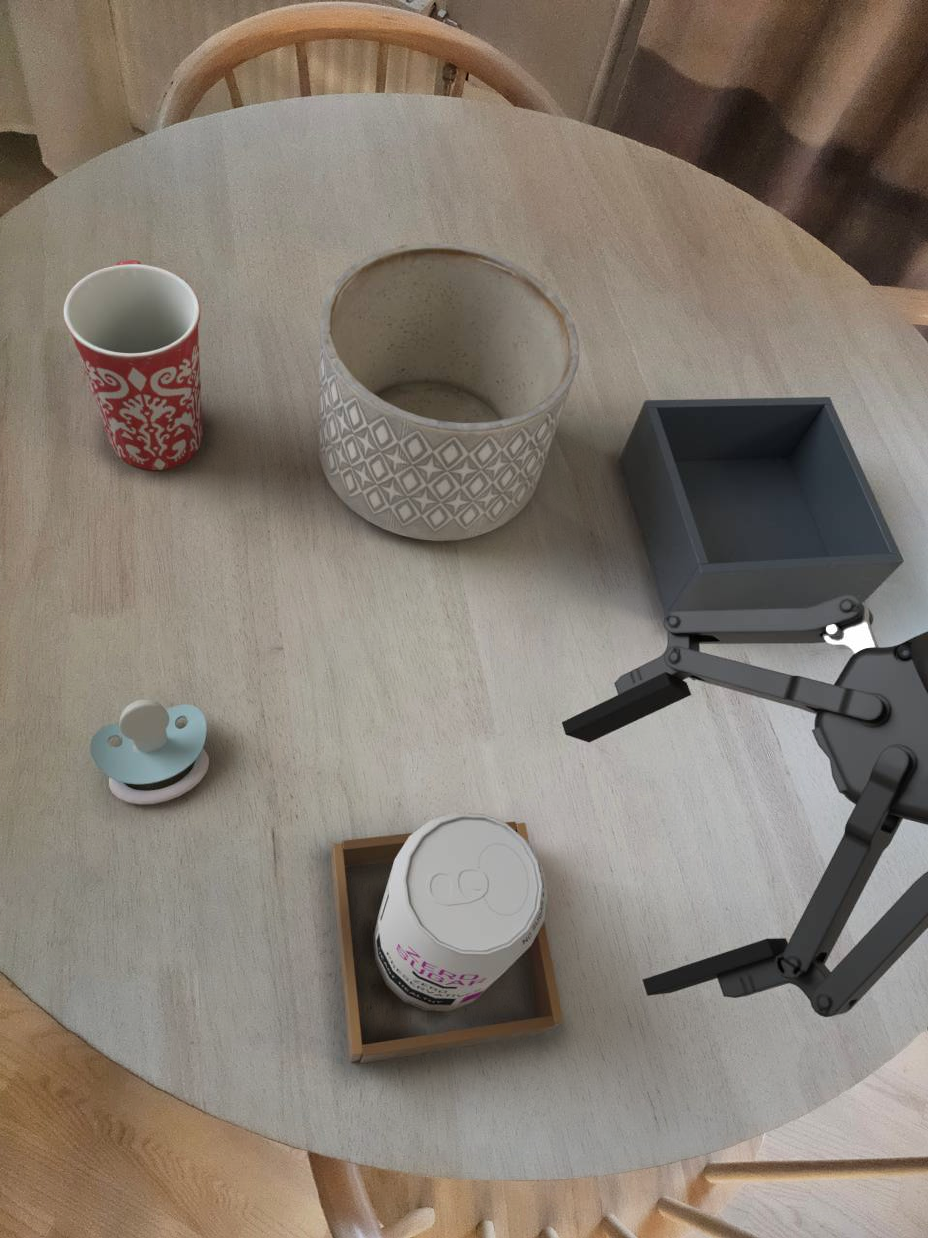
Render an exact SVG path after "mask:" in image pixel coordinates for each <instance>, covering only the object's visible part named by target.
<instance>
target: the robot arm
mask: <svg viewBox="0 0 928 1238" xmlns="http://www.w3.org/2000/svg"><path fill="white" fill-rule="evenodd" d="M873 622H874V615H873V613H872V611H871V610H870V609H869V608H868V607H867V606H866V605H865V604H864V603H862V602H861V600H860V599H859V598H858V597H856V596H855V595H852V594H845V595H841V596H839V597H836V598H833V599H830V600H828V601H825V602H822V603H819V604H817V605H814V606H811V607H801V608H762V609H723V610H684V611H672V612H670V613H668V614H667V615H666V617H665V616H664V619H663V627H664V630H665V631H666V632H667V634H666V635H667V636H666V637H667V638H666V639H667V643H666V648H665V650H664V652H663V653H662V654H661V655H660V656H658V657H656V658H654V659H652V660H650V661H648V662H645V663H643V664H642V665H640V666H638V667H637V668H634V669H632V670H630V671H628V672H626V673H624V674H621V675H620V676H619V677H618V678H617V679H616V681H614V683H613V685H614V687H615V690H616V693H617V695H615V696H613V697H611V698H609V699H607V700H605V701H603V702H600V703H598V704H596V705H594V706H592V707H590V708H587V709H586V710H584V711H582V712H580V713H578V714H576V715H574V716H572V717H569V718H568V719H566V720H563V721H562V722H561V725H562V728H563V731H564V734H565V736H568V737H571V738H574V739H576V740H580V741H583V742H586V743H589V744H590V743H592V742H594V741H597V740H599V739H600V738H602V737H604V736H607V735H608V734H611V733H613V732H615V731H617V730H620V729H621V728H624V727H626V726H628V725H630V724H632V723H635V722H636V721H638V720H641V719H644V718H645V717H648V716H649V715H651V714H654V713H656V712H658V711H660V710H662V709H664V708H666V707H669V706H671V705H673V704H675V703H677V702H679V701H682V700H684V699H685V698H688V697H690V696H692V693H691V689H690V687H689V684H688V682H686V681H685V680H687V679H691V680H693V681H694V682H695V681H699V682H702V683H706V684H710V685H713V686H717V687H720V688H725V689H728V690H731V691H735V692H739V693H742V694H745V695H750V696H753V697H757V698H761V699H764V700H766V701H771V702H774V703H778V704H781V705H785V706H788V707H792V708H796V709H800V710H802V711H805V712H807V713H811V714H814V715H815V718H814V723H813V724H814V726H813V727H814V728H813V729H811V733H812V734H813V737H814V739H815V741H816V743H817V746H818V747H819V748H820V749H821V751H822V752H823V753H824V755H825V756H826V757H827V758H828V759H829V765H830V770H831V778H832V780H833V782H834V784H835V786H836V788H837V791H838V793H839V794H842V795H843V796H844V797H845V798H846V799H847V800H848V801H849V802H851V803H852V804H854V805H855V806H854V807H853V810H852V811H851V813H850V815H849V817H848V819H847V820H846V823H845V826H844V833H843V836H842V837H841V840H840V842H839V843H838V845H837V848H836V849H835V851H834V853H833V855H832V857H831V859H830V860H829V863H828V864H827V866H826V868H825V870H824V872H823V875H822V876H821V878H820V880H819V882H818V885H817V886H816V888H815V890H814V892H813V894H812V895H811V898H810V900H809V901H808V904H807V905H806V907H805V910H804V912H803V914H802V915H801V917H800V918H799V921H798V923H797V925H796V927H795V929H794V931H793V933H792V935H791V936H790V938H789V940H788V939H787V938H786V937H781V938H780V937H779V938H773V937H772V938H765V939H762V940H758V941H755V942H753V943H749V944H746V945H743V946H740V947H737V948H735V949H730V950H729V951H725V952H721V953H719V954H716V955H713V956H709V957H707V958H704V959H701V960H697V961H695V962H691V963H689V964H685V965H682V966H679V967H676V968H673V969H670V970H667V971H664V972H661V973H658V974H655V975H652V976H649V977H646V978H643V979H641V980H642V983H643V986H644V989H645V992H646V996H647V997H649V996H657V995H666V994H671V993H675V992H678V991H682V990H684V989H688V988H691V987H694V986H697V985H700V984H703V983H707V982H710V981H713V980H716V979H717V981H718V984H719V987H720V990H721V992H722V997H726V998H732V999H737V998H738V999H739V998H743V997H748V996H751V995H754V994H759V993H761V992H764V991H768V990H771V989H775V988H778V987H781V986H785V985H788V984H791V985H793V986H796V987H797V988H799V990H800V991H801V992H802V993H803V994H804V995H805V997H806V998H807V999H808V1000H809V1002H810V1005H811V1008H812V1009H813V1011H814V1012H815V1013H816V1014H817V1015H819V1016H820V1017H823V1018H830V1017H835V1016H838V1015H843V1014H846V1013H849V1011H851V1010H852V1009H853V1008H854V1007H855V1006H856V1005H857V1004H858V1002H859V1001H861V999H862V998H863V997H864V996H865V995H866V994H867V993H868V992H869V991H870V990H871V989H872V988H873V987H874V986H875V985H876V984H877V982H879V980H880V979H881V978H882V977H883V976H884V975H886V973H887V972H888V970H890V969H891V968H892V967H893V966H894V964H895V963H897V961H898V960H899V959H900V958H901V957H902V956H903V955H904V954H905V953H906V952H907V950H908V949H910V947H911V946H912V945H913V944H914V943H915V942H916V941H917V940H918V939H919V938H920V937H921V936H922V935H923V934H924V932H925V931H926V930H927V929H928V870H927V871H926V872H924V873H923V874H922V875H921V876H919V877H918V878H917V879H916V880H915V881H914V882H913V883H912V884H911V885H910V887H908V888H907V890H906V891H905V892H904V893H903V894H902V895H901V896H900V897H899V898H898V899H897V900H896V901H895V902H894V903H893V905H892V906H891V907H890V908H889V909H888V910H887V911H886V912H885V913H884V915H883V916H882V917H880V919H879V920H878V921H877V922H876V923H874V925H873V926H872V927H871V928H870V929H869V931H868V932H866V934H864V936H863V937H862V938H861V939H860V940H859V941H858V942H857V943H856V944H855V945H854V947H853V948H851V950H850V951H849V952H848V953H847V954H846V955H845V956H844V957H843V958H842V959H841V961H839V963H838V964H837V965H836V966H835V967H834V968H833V969H832V970H831V971H830V969H829V968H828V967H827V965H826V963H827V961H828V959H829V957H830V955H831V954H832V951H833V949H834V947H835V946H836V944H837V942H838V940H839V937H840V936H841V934H842V932H843V930H844V928H845V926H846V924H847V923H848V920H849V918H850V916H851V915H852V912H853V911H854V909H855V907H856V905H857V903H858V901H859V899H860V897H861V896H862V893H863V891H864V889H865V887H867V884H868V882H869V880H870V878H871V876H872V874H873V872H874V870H875V868H876V866H877V865H878V862H879V860H880V858H881V856H882V855H883V853H884V851H885V850H886V849H887V848H888V847H889V846H890V845H891V843H892V841H893V839H894V837H895V835H896V833H897V831H898V830H899V827H900V825H901V824H902V821H903V820H907V821H910V822H911V821H912V822H916V823H918V824H922V825H926V826H928V630H927V631H925V632H922V633H920V634H918V635H915V636H914V637H910V638H909V639H907V640H905V641H903V642H900V643H899V644H896V645H893V646H886V647H879V645H878V642H877V639H876V637H875V633H874V631H873V628H872V624H873ZM823 643H827V644H828V645H830V646H831V647H832V648H833V649H835V650H850V651H852V653H853V654H852V655H851V656H850V658H849V659H848V661H847V662H846V664H845V665H844V667H843V669H842V670H841V672H840V674H839V675H838V677H837V678H836V680H835V682H834V684H832V683H828V682H824V681H820V680H817V679H812V678H810V677H806V676H801V675H792V674H787V673H784V672H780V671H777V670H772V669H769V668H764V667H760V666H756V665H752V664H748V663H745V662H741V661H737V660H733V659H730V658H726V657H723V656H722V657H721V656H717V655H714V654H710V653H706V652H702V651H701V650H700V649H701V648H700V645H717V644H718V645H728V644H729V645H738V644H739V645H741V644H743V645H744V644H745V645H749V644H751V645H752V644H753V645H754V644H755V645H756V644H757V645H759V644H761V645H762V644H763V645H765V644H766V645H767V644H768V645H769V644H772V645H773V644H783V645H784V644H787V645H788V644H823Z"/></svg>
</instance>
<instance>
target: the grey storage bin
mask: <svg viewBox="0 0 928 1238" xmlns="http://www.w3.org/2000/svg"><path fill="white" fill-rule="evenodd" d="M634 422H635V423H634V425H633V427H632V429H631V431H630V433H629V435H628V438H627V440H626V443H625V445H624V447H623V450H622V452H621V454H620V457H619V459H618V463H619V467H620V470H621V473H622V477H623V481H624V485H625V486H626V490H627V493H628V496H629V497H628V498H629V500H630V504H631V507H632V510H633V515H634V517H635V520H636V523H637V526H638V531H639V534H640V536H641V540H642V543H643V547H644V550H645V551H644V552H645V553H646V557H647V561H648V564H649V567H650V570H651V574H652V577H653V581H654V584H655V588H656V590H657V594H658V597H659V600H660V604H661V607H662V611H663V613H664V618H665V617H666V615H667V614H668V613H670V612H672V611H684V610H723V609H762V608H801V607H811V606H814V605H817V604H819V603H822V602H825V601H828V600H830V599H833V598H836V597H839V596H841V595H845V594H852V595H855V596H856V597H858V598H859V599H860V600H861V602H862V603H863V604H864V603H865V601H866V600H868V599H869V598H870V597H871V596H872V594H874V592H876V590H877V589H879V587H880V586H882V584H884V582H885V581H887V579H889V577H890V576H892V574H893V573H894V572H895V571H896V570H898V568H899V567H900V566H901V565H902V564H903V563H904V562H905V559H904V558H903V555H902V554H901V551H900V549H899V547H898V545H897V542H896V540H895V538H894V535H893V534H892V531H891V529H890V527H889V525H888V523H887V520H886V518H885V516H884V514H883V512H882V509H881V507H880V505H879V503H878V501H877V498H876V496H875V494H874V492H873V490H872V487H871V485H870V484H869V481H868V479H867V476H866V474H865V472H864V470H863V467H862V465H861V463H860V461H859V458H858V457H857V454H856V452H855V450H854V448H853V446H852V443H851V440H850V439H849V437H848V434H847V432H846V430H845V428H844V425H843V424H842V421H841V419H840V417H839V415H838V413H837V410H836V408H835V405H834V403H833V400H832V399H831V397H830V396H810V397H809V396H808V397H807V396H806V397H802V396H801V397H749V398H748V397H747V398H701V399H699V398H697V399H693V398H691V399H647V400H644V402H643V404H642V406H641V409H640V411H639V413H638V415H637V418H636V420H635V421H634Z"/></svg>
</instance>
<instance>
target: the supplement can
mask: <svg viewBox="0 0 928 1238" xmlns="http://www.w3.org/2000/svg"><path fill="white" fill-rule="evenodd" d="M412 833H413V834H412V835H410V836H409V838H408V839H407V841H406V842H405V844H404V845H403V847H402V849H401V850H400V852H399V853H398V855H397V856H396V858H395V860H394V861H393V862H392V863H393V864H392V866H391V871H390V874H389V877H388V881H387V884H386V888H385V892H384V894H383V898H382V901H381V903H380V907H379V910H378V914H377V918H376V923H375V928H374V932H373V936H372V944H373V953H374V959H375V960H374V962H375V965H376V967H377V969H378V972H379V973H380V975H381V977H382V979H383V981H384V983H385V985H386V986H387V988H389V989H390V991H392V992H393V993H394V994H395V995H396V996H397V997H398V998H399V999H401V1000H402V1002H404V1003H406V1004H409V1005H411V1006H413V1007H416V1008H419V1009H420V1010H423V1011H426V1012H451V1011H454V1010H456V1009H457V1010H458V1009H459V1008H462V1007H465V1006H467V1005H470V1004H472V1003H474V1001H475V1000H476V999H477V998H479V997H480V996H481V995H482V994H483V993H485V992H486V991H487V990H488V989H489V988H490V987H491V986H492V985H493V984H494V983H495V982H496V981H497V980H498V979H500V978H501V976H502V975H503V974H504V973H505V972H506V971H507V970H508V969H510V967H511V966H512V965H514V963H515V962H516V961H517V960H518V959H519V958H520V957H521V956H522V955H523V954H524V953H525V951H526V950H527V949H528V948H529V947H530V946H531V945H532V943H533V941H534V939H535V937H536V935H537V933H538V932H539V930H540V928H541V926H542V924H543V922H545V917H546V909H547V902H548V894H549V892H548V887H547V883H546V878H545V873H544V867H543V865H542V863H541V861H540V859H539V858H538V857H537V855H536V853H535V851H534V849H533V848H532V846H531V845H530V842H529V843H528V841H526V840H525V839H524V838H523V837H522V836H521V835H519V834H518V833H517V832H516V831H515V830H514V829H512V828H511V827H510V826H509V825H508V824H506V822H503V821H501V820H498V819H497V818H493V817H491V816H488V815H486V814H484V813H475V812H473V813H472V812H453V813H449V814H447V815H443V816H440V817H437V818H433V819H430V820H428V821H427V822H426V823H424V825H423V826H421V827H419V828H418V829H417V830H416V831H414V832H412Z"/></svg>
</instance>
